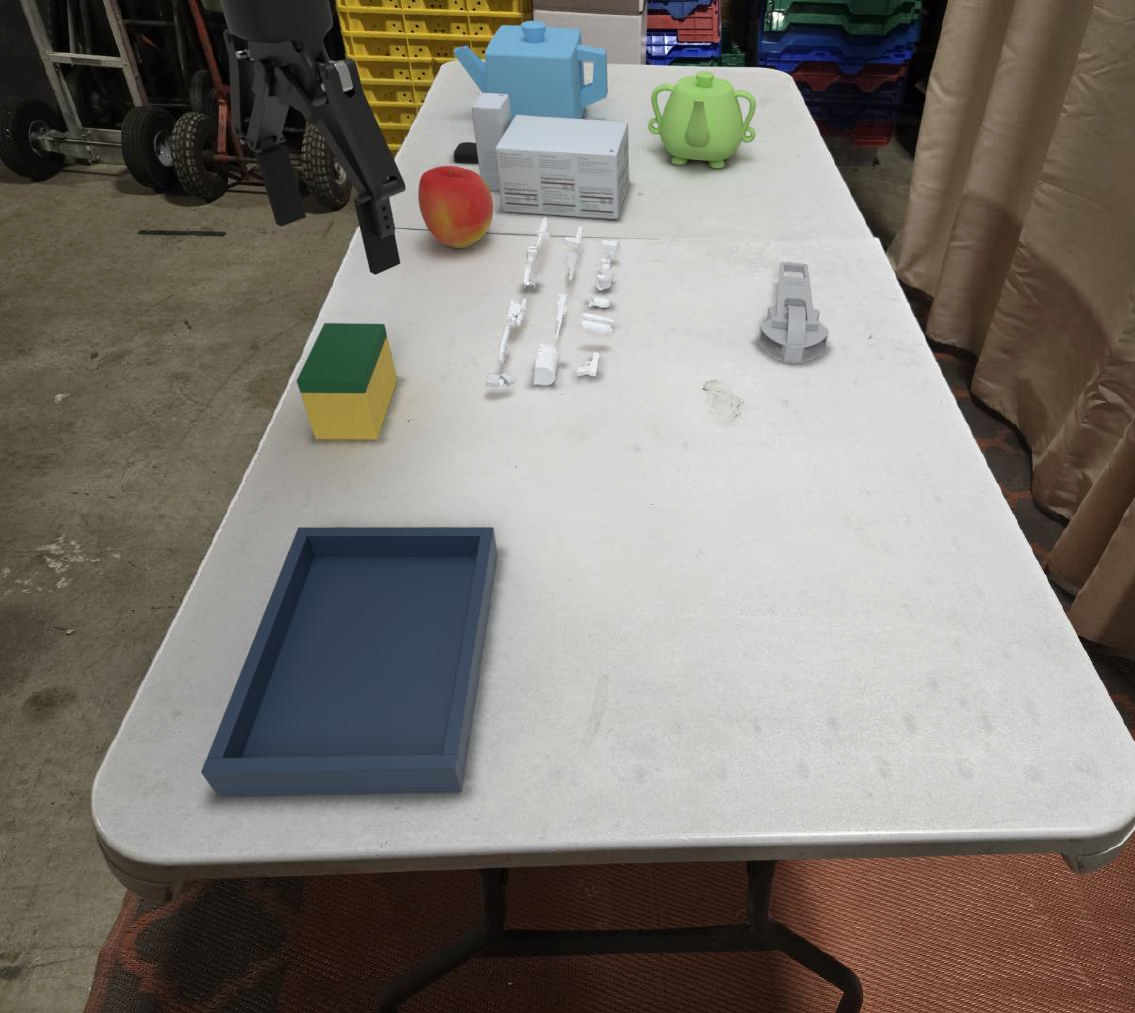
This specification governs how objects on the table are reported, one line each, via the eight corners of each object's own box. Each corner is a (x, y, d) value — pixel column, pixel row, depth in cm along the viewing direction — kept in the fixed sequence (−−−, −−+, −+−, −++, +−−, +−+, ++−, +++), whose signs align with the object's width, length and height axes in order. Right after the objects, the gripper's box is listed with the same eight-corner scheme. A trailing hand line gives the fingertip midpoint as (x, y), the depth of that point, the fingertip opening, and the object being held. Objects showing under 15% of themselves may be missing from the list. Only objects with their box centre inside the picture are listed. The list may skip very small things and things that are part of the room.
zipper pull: (821, 287, 108) (826, 256, 105) (827, 366, 95) (833, 333, 92) (760, 282, 109) (763, 251, 106) (757, 360, 96) (761, 327, 93)
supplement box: (629, 183, 129) (630, 120, 123) (618, 221, 120) (617, 155, 113) (521, 175, 130) (515, 111, 123) (500, 212, 120) (493, 145, 114)
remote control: (552, 159, 136) (459, 149, 136) (552, 147, 135) (458, 138, 134) (547, 171, 132) (452, 161, 132) (547, 160, 131) (451, 150, 131)
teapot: (766, 168, 136) (776, 84, 127) (692, 184, 130) (697, 97, 121) (711, 134, 145) (717, 54, 137) (640, 147, 140) (641, 64, 131)
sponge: (377, 439, 83) (362, 381, 78) (315, 439, 83) (296, 380, 78) (397, 380, 90) (384, 323, 85) (340, 379, 90) (324, 322, 85)
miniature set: (533, 236, 113) (622, 253, 115) (484, 405, 89) (598, 424, 91) (536, 191, 108) (630, 210, 110) (486, 358, 85) (606, 379, 86)
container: (603, 144, 140) (601, 42, 129) (453, 137, 140) (438, 34, 129) (611, 108, 152) (610, 12, 142) (472, 101, 152) (461, 5, 141)
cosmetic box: (489, 174, 129) (480, 91, 121) (517, 176, 129) (509, 93, 121) (480, 190, 125) (470, 106, 117) (509, 192, 125) (500, 108, 117)
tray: (461, 792, 57) (454, 767, 54) (217, 797, 56) (200, 772, 54) (497, 553, 73) (493, 526, 70) (308, 554, 72) (297, 527, 69)
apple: (484, 263, 109) (475, 188, 102) (413, 256, 110) (399, 180, 103) (504, 230, 116) (497, 157, 109) (437, 224, 117) (425, 151, 110)
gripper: (422, -5, 59) (462, 273, 73) (218, -63, 69) (290, 191, 84) (330, 15, 54) (393, 307, 69) (128, -51, 64) (220, 215, 79)
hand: (336, 243), depth 76 cm, fingers open, 13 cm apart
